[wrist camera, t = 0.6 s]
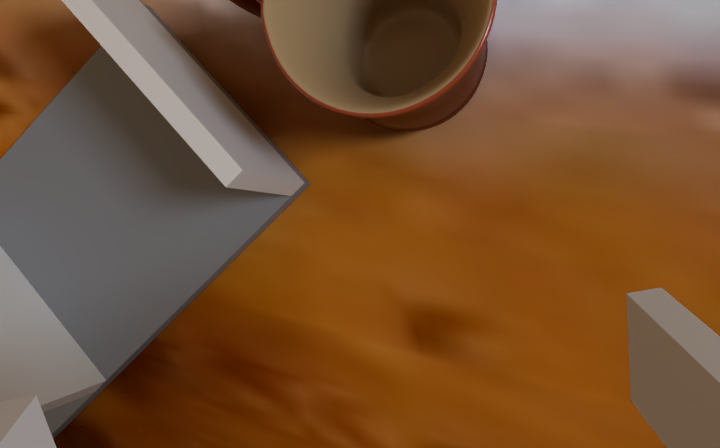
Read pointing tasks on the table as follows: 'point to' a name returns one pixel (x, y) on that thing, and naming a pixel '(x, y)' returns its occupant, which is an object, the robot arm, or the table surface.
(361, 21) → the mug
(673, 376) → the robot arm
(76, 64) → the table surface
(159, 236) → the rack
